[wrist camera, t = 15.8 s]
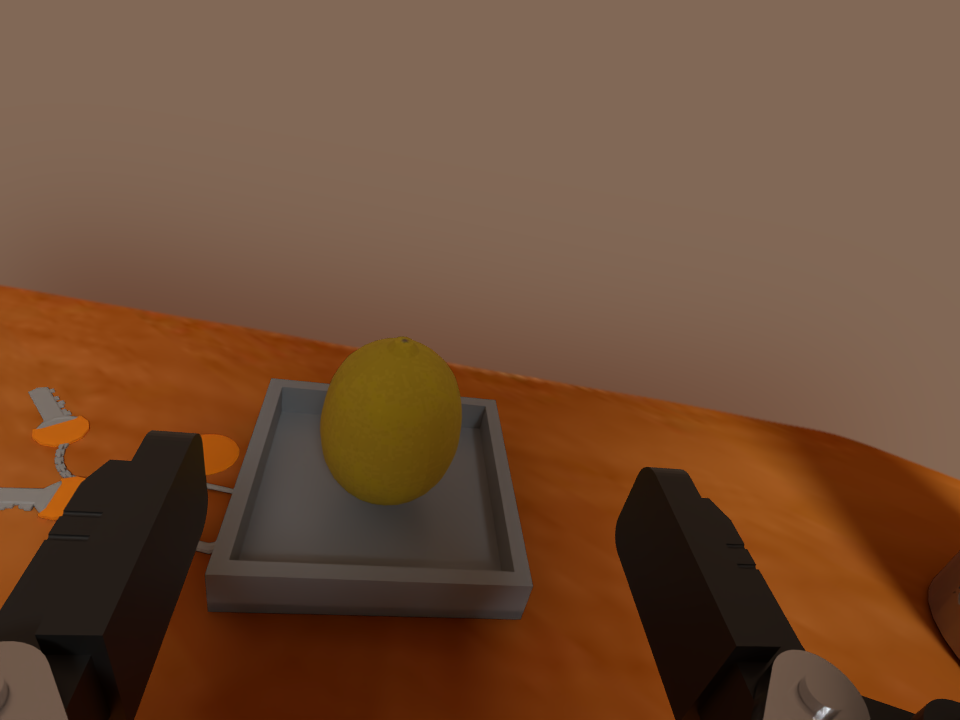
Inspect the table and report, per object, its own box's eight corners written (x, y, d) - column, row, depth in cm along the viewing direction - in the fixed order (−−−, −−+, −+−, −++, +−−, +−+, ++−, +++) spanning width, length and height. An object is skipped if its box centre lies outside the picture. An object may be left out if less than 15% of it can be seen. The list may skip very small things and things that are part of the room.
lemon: (344, 565, 22) (363, 397, 18) (297, 468, 26) (304, 310, 22) (467, 522, 25) (507, 369, 21) (409, 441, 29) (434, 297, 25)
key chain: (296, 457, 28) (297, 444, 27) (205, 584, 21) (204, 569, 21) (48, 385, 28) (44, 371, 28) (-109, 488, 22) (-117, 471, 22)
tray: (487, 429, 32) (495, 400, 31) (520, 619, 22) (532, 586, 21) (271, 410, 30) (271, 378, 29) (207, 611, 20) (204, 574, 19)
